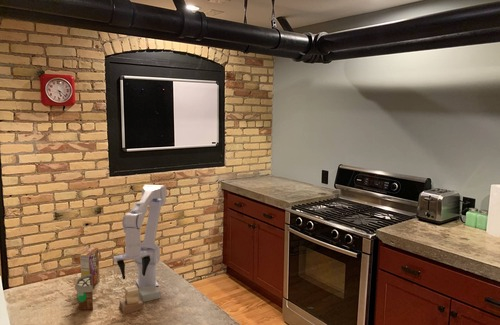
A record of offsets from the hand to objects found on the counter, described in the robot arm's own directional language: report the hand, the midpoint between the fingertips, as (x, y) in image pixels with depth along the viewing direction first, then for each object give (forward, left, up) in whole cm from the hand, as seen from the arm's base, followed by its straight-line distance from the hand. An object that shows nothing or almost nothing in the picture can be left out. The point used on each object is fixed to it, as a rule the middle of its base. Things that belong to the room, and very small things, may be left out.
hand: (133, 276), depth 149 cm
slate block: (-1, +6, -10) cm, 12 cm away
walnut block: (+5, -2, -10) cm, 12 cm away
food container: (-4, -18, -10) cm, 21 cm away
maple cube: (+5, -2, -7) cm, 9 cm away
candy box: (-22, -14, -10) cm, 28 cm away
